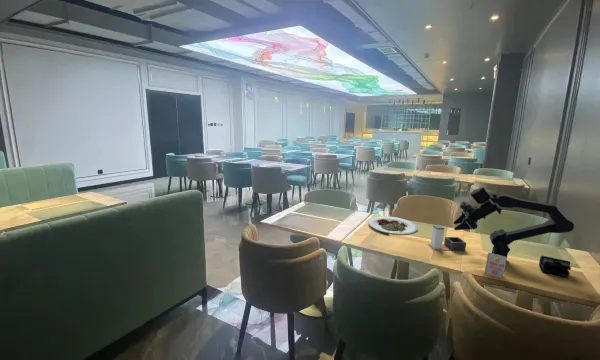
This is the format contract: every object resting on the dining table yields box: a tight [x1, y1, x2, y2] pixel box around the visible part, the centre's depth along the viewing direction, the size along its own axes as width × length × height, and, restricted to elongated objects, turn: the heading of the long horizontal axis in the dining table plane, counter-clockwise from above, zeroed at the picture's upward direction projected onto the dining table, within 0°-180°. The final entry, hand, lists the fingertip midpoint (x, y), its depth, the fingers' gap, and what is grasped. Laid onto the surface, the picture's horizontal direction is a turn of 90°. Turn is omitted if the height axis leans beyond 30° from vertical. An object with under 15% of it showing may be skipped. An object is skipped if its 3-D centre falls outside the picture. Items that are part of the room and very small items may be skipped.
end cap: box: [538, 255, 572, 280], centre depth 130 cm, size 10×7×7 cm
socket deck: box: [427, 236, 467, 252], centre depth 152 cm, size 8×17×6 cm, turn 90°
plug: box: [430, 224, 445, 250], centre depth 151 cm, size 4×4×12 cm
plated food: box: [368, 216, 418, 235], centre depth 182 cm, size 30×30×3 cm
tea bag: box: [484, 252, 508, 280], centre depth 127 cm, size 4×7×10 cm, turn 53°
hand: (454, 226), depth 147 cm, fingers open, 9 cm apart
